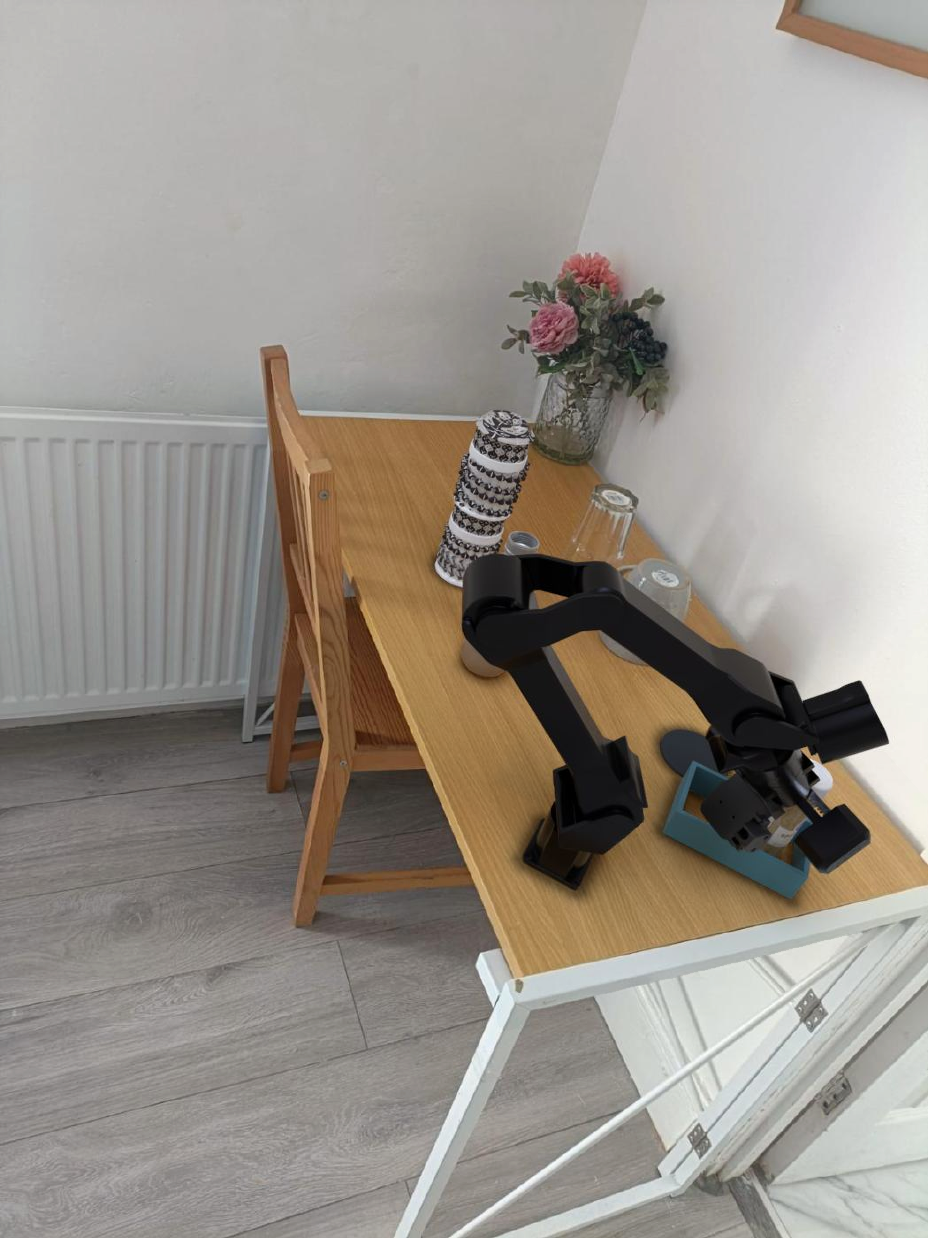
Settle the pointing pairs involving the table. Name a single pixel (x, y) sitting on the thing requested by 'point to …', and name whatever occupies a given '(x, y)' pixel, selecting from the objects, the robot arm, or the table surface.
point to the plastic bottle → (529, 545)
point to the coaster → (686, 751)
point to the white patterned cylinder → (484, 492)
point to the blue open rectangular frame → (713, 846)
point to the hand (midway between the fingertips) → (795, 807)
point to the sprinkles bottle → (794, 815)
